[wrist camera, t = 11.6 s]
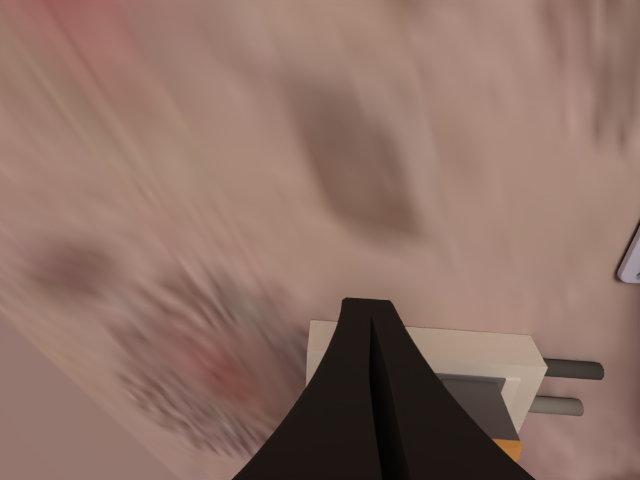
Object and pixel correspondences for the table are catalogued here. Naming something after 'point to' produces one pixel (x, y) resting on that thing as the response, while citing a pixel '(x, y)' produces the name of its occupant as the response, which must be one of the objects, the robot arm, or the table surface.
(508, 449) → the knob
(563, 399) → the cord
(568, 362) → the cord
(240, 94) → the table surface
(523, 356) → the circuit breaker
